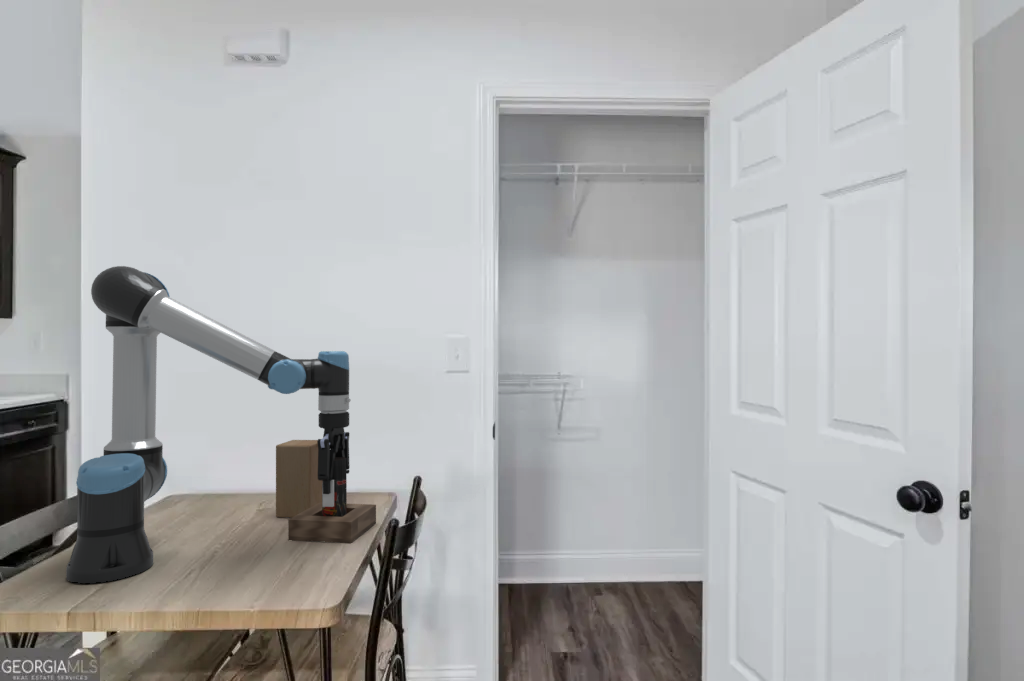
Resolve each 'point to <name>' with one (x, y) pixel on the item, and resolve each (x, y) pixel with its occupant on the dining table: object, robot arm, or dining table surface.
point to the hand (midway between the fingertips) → (334, 502)
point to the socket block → (332, 524)
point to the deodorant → (338, 490)
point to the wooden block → (297, 477)
